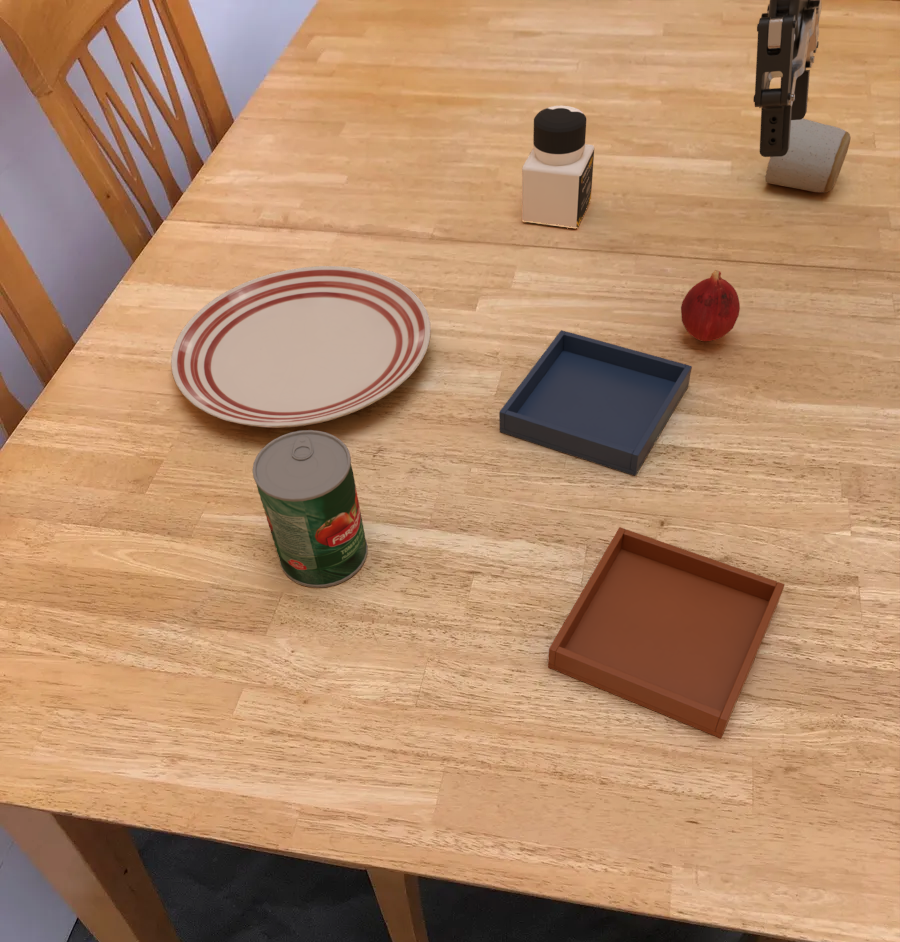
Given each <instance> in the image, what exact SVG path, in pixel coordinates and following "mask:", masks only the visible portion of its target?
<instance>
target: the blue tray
mask: <svg viewBox="0 0 900 942" xmlns="http://www.w3.org/2000/svg"><path fill="white" fill-rule="evenodd" d="M692 369H693V366H692V365H689V364H687V363H682V362H679V361H675V360H671V359H668V358H665V357H661V356H657V355H654V354H649V353H646V352H642V351H639V350H635V349H631V348H628V347H624V346H620V345H617V344H614V343H610V342H606V341H602V340H599V339H595V338H591V337H589V336H585V335H581V334H577V333H574V332H569V331H566V330H562V329H561V330H560V331H559V332H558V333H557V334H556V336H555V337H554V339H553V340H552V341H551V343H550V344H549V345H548V346H547V348H546V349H545V351H544V352H543V353H542V354H541V356H540V357H539V359H538V360H537V361H536V363H535V364H534V365H533V366H532V368H531V370H529V372H528V373H527V375H525V377H524V378H523V379H522V381H521V382H520V384H519V385H518V387H517V388H516V389H515V390H514V392H513V393H512V394H511V396H510V397H509V398H508V400H507V401H506V402H505V403H504V404H503V407H502V408H501V409H500V410H499V412H498V413H499V418H498V419H499V420H498V421H499V433H502V434H504V435H508V436H511V437H513V438H517V439H520V440H522V441H526V442H529V443H532V444H535V445H539V446H542V447H545V448H547V449H551V450H554V451H557V452H560V453H562V454H563V453H564V454H566V455H569V456H572V457H575V458H578V459H581V460H585V461H588V462H590V463H594V464H598V465H600V466H603V467H606V468H609V469H612V470H614V471H615V470H616V471H619V472H621V473H624V474H628V475H630V476H634V477H635V476H637V474H638V472H639V471H640V469H641V468H642V465H644V462H645V461H646V459H647V458H648V456H649V454H650V452H651V450H652V449H653V448H654V446H655V445H656V444H655V443H656V442H657V441H658V439H659V437H660V435H661V433H662V432H663V431H664V429H665V427H666V426H667V423H668V422H669V420H670V418H671V416H672V415H673V413H674V412H675V410H676V408H677V407H678V405H679V403H680V401H681V400H682V398H683V397H684V395H685V393H686V392H687V390H688V388H689V385H690V381H691V380H690V378H691V374H692Z"/></svg>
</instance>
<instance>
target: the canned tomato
mask: <svg viewBox="0 0 900 942" xmlns="http://www.w3.org/2000/svg"><path fill="white" fill-rule="evenodd" d="M352 466H353V465H352V458H351V453H350V450H349V448H348V447H347V445H346V444H345V443H344V442H343V441H342V440H341V439H340V438H338V437H337V436H336V435H333V434H331V433H329V432H327V431H326V432H325V431H321V430H315V429H314V430H312V429H308V430H307V429H305V430H297V431H291V432H288V433H285V434H283V435H280V436H278V437H276V438H274V439H272V440H271V441H270V442H268V443H266V445H265V446H263V448H261V449H260V450H259V452H258V453H257V455H256V456H255V459H254V461H253V465H252V477H253V478H252V479H253V480H254V482H255V484H256V488H257V493H258V495H259V497H260V501H261V504H262V508H263V511H264V515H265V517H266V521H267V523H268V528H269V531H270V535H271V537H272V540H273V544H274V548H275V550H276V553H277V556H278V559H279V565H280V568H281V569H282V571H283V574H285V576H286V577H287V578H288V579H290V580H291V581H292V582H294V583H296V584H298V585H300V586H304V587H308V588H317V589H319V588H328V587H333V586H337V585H339V584H342V583H344V582H346V581H348V580H349V579H351V578H352V577H353V576H355V575H356V574H357V573H358V572H359V571H360V570H361V568H363V566H364V564H365V562H366V561H367V560H366V559H367V556H368V548H369V547H368V542H367V539H366V532H365V527H364V523H363V517H362V512H361V506H360V501H359V496H358V492H357V491H358V490H357V486H356V480H355V476H354V470H353V467H352Z"/></svg>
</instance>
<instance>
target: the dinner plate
mask: <svg viewBox="0 0 900 942" xmlns="http://www.w3.org/2000/svg"><path fill="white" fill-rule="evenodd" d="M431 333H432V327H431V320H430V316H429V312H428V310H427V308H426V307H425V304H424V303H423V302H422V300H421V299H420V298H419V297H418V296H417V295H416V293H415V292H413V291H412V290H411V289H410V288H409V287H408V286H406V285H405V284H403V283H401V282H400V281H398V280H396V279H394V278H393V277H389V276H387V275H384V274H381V273H379V272H375V271H373V270H372V271H371V270H368V269H365V268H364V269H363V268H358V267H351V266H342V265H341V266H340V265H319V266H304V267H296V268H291V269H285V270H281V271H276V272H273V273H269V274H265V275H261V276H259V277H255V278H253V279H250V280H248V281H245V282H242V283H241V284H238V285H237V286H235V287H232V288H230V289H228V290H226V291H225V292H222V293H221V294H219V295H217V296H216V297H214V298H213V299H212V300H211V301H209V302H208V303H207V304H205V305H204V306H203V307H202V308H200V309H199V310H198V311H197V312H196V313H195V314H193V316H192V317H191V318H190V319H189V320H188V321H187V323H186V324H185V325H184V327H183V328H182V330H181V331H180V333H179V334H178V336H177V337H176V340H175V343H174V345H173V349H172V353H171V356H170V357H171V358H170V369H171V374H172V378H173V380H174V383H175V385H176V386H177V388H178V390H179V391H180V393H181V394H182V395H183V396H184V398H185V399H186V400H187V401H189V402H190V403H191V404H192V405H194V407H196V408H198V409H200V410H201V411H202V412H204V413H206V414H208V415H211V416H212V417H215V418H218V419H220V420H223V421H226V422H231V423H235V424H239V425H244V426H249V427H259V428H276V429H277V428H280V429H281V428H295V427H304V426H310V425H316V424H321V423H325V422H328V421H332V420H336V419H339V418H342V417H345V416H348V415H350V414H354V413H356V412H357V411H360V410H362V409H365V408H367V407H369V406H370V405H373V404H375V403H376V402H378V401H380V400H381V399H383V398H385V397H386V396H388V395H389V394H391V393H392V392H394V391H395V390H396V389H398V387H400V386H401V385H402V384H403V383H404V382H405V381H406V380H408V379H409V378H410V377H411V376H412V374H413V373H414V372H415V371H416V370H417V368H418V367H419V365H420V364H421V363H422V361H423V359H424V357H425V356H426V353H427V351H428V348H429V345H430V341H431Z"/></svg>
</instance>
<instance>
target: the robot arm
mask: <svg viewBox="0 0 900 942" xmlns="http://www.w3.org/2000/svg"><path fill="white" fill-rule="evenodd" d="M822 8H823V7H822V0H769V3H768V5H767V8H766V12H761V16H760V17H759V20H758V23H757V25H756V32H757V41H756V42H757V44H756V66H755V85H754V95H753V103H754V108H758V109H761V110H760V111H761V112H760V133H759V135H760V136H759V154H760V156H761V157H764V158H770V157H780V156H784V155H786V153H787V152H788V149H789V144H790V128H791V120H800V119H802V118H803V119H805V117H806V114H807V112H808V100H809V88H810V87H809V86H810V84H809V83H810V73H811V69H812V67H813V64H814V63H815V60H816V59H815V55H814V54H816V53H817V49H818V48H819V43H820V42H819V36H820V18H821V13H822ZM774 78H780V87H775V88H773V87H772V88H770V85H771V81H772V80H773V79H774Z"/></svg>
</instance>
